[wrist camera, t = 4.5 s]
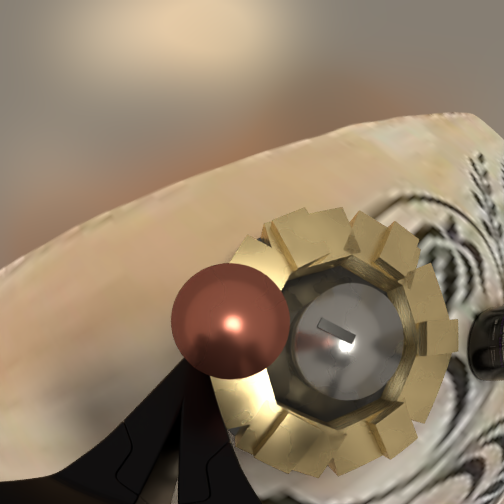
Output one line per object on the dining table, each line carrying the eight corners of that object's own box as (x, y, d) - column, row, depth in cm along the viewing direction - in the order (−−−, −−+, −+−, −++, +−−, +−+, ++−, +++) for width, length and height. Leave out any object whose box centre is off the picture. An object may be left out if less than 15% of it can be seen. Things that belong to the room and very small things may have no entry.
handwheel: (447, 396, 14) (550, 397, 5) (246, 488, 11) (261, 595, 2) (388, 209, 18) (461, 125, 9) (180, 256, 16) (129, 150, 7)
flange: (405, 448, 14) (442, 463, 9) (183, 442, 14) (166, 470, 9) (421, 251, 19) (456, 227, 15) (226, 213, 19) (224, 173, 15)
